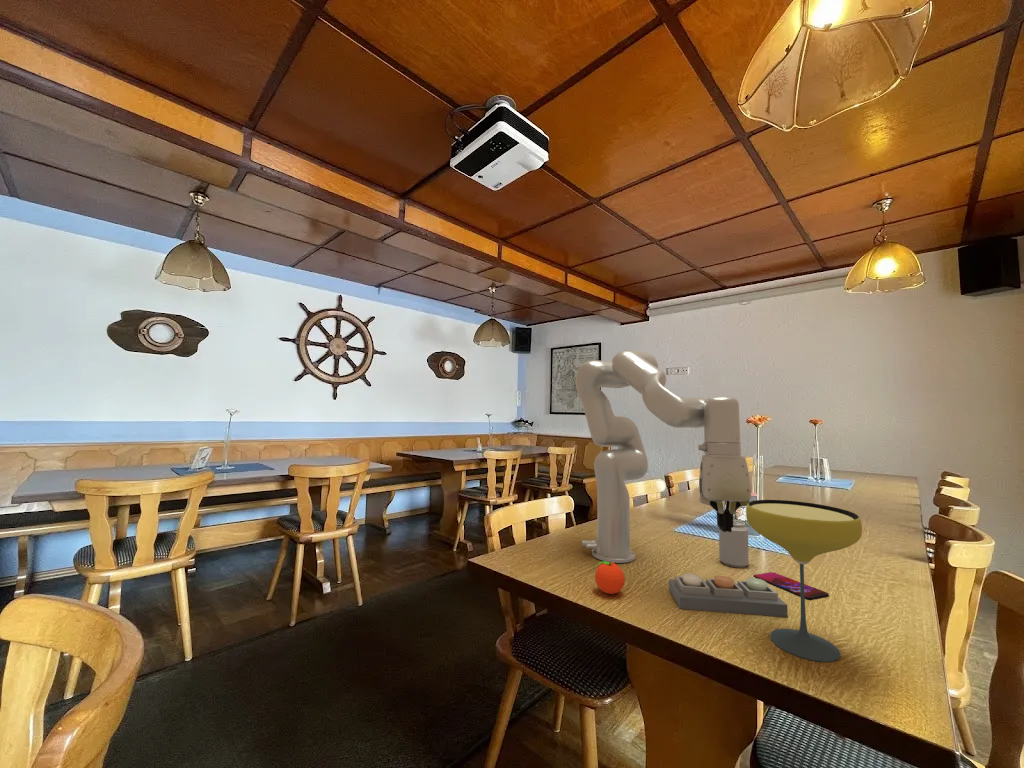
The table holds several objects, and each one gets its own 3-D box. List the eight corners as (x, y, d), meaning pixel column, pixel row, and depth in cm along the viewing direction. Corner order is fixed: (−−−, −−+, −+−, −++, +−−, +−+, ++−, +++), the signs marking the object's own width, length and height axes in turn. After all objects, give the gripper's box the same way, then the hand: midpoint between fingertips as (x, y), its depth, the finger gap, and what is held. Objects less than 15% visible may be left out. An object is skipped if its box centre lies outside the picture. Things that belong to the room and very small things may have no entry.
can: (741, 560, 124) (740, 518, 125) (753, 569, 116) (752, 525, 117) (715, 558, 124) (714, 517, 125) (725, 567, 117) (724, 524, 118)
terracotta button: (717, 589, 94) (717, 581, 94) (711, 582, 98) (711, 575, 98) (736, 590, 93) (736, 583, 93) (730, 583, 97) (729, 576, 97)
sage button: (751, 591, 93) (751, 584, 93) (743, 584, 97) (743, 577, 97) (770, 592, 92) (770, 585, 92) (762, 585, 96) (762, 578, 96)
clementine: (585, 591, 100) (585, 561, 100) (600, 583, 105) (600, 554, 106) (616, 602, 95) (616, 569, 95) (629, 592, 100) (629, 562, 100)
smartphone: (772, 571, 114) (830, 593, 100) (772, 575, 114) (831, 597, 100) (751, 575, 111) (808, 598, 97) (751, 578, 111) (808, 602, 97)
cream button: (685, 586, 95) (685, 579, 95) (680, 579, 99) (680, 573, 99) (703, 588, 94) (703, 580, 94) (698, 581, 98) (698, 574, 98)
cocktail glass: (881, 652, 76) (875, 513, 78) (846, 689, 66) (840, 527, 67) (773, 612, 91) (770, 496, 92) (730, 637, 80) (728, 505, 82)
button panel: (679, 608, 92) (679, 590, 92) (669, 589, 102) (668, 572, 102) (787, 617, 89) (787, 597, 89) (765, 596, 99) (765, 579, 99)
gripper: (693, 450, 95) (696, 533, 93) (764, 451, 93) (767, 536, 91) (684, 448, 102) (686, 525, 101) (749, 449, 100) (752, 527, 99)
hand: (725, 530), depth 96 cm, fingers closed
